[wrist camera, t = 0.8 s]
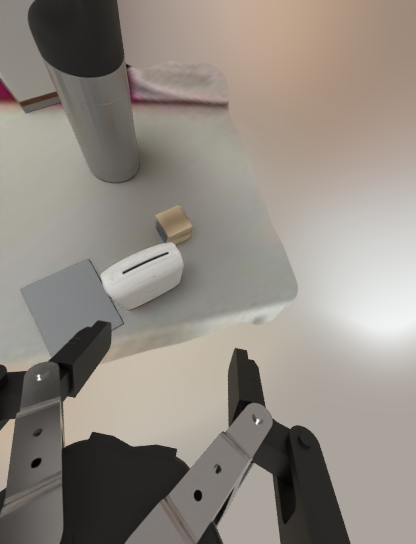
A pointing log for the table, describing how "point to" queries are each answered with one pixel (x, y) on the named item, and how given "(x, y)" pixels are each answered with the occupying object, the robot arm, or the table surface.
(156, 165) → the table surface
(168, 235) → the wooden block
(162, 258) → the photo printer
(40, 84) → the tall white banded vase
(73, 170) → the table surface
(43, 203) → the table surface
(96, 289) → the felt pad
